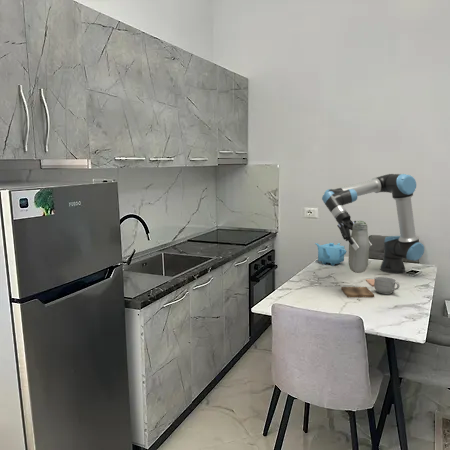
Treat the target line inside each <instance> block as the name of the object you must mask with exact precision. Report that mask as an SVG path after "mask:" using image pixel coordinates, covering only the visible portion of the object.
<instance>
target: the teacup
mask: <svg viewBox="0 0 450 450" xmlns="http://www.w3.org/2000/svg"><path fill="white" fill-rule="evenodd" d="M374 279H375V282H374V289H375V291H376V292H377V293H379V294H381V295H382V294H384V295H390V294H392V293H394V292H395V291H397V290H399V289H400V286H401V284H400V283H399V282H398V281H396V280H397V279H395V278H393V277H387V276H374Z"/></svg>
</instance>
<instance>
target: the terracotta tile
mask: <svg viewBox="0 0 450 450" xmlns="http://www.w3.org/2000/svg"><path fill="white" fill-rule="evenodd" d="M365 282H366V283H367V284H368V285H369V286H371V287H374V282H375V278H366V279H365ZM374 288H375V287H374Z"/></svg>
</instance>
